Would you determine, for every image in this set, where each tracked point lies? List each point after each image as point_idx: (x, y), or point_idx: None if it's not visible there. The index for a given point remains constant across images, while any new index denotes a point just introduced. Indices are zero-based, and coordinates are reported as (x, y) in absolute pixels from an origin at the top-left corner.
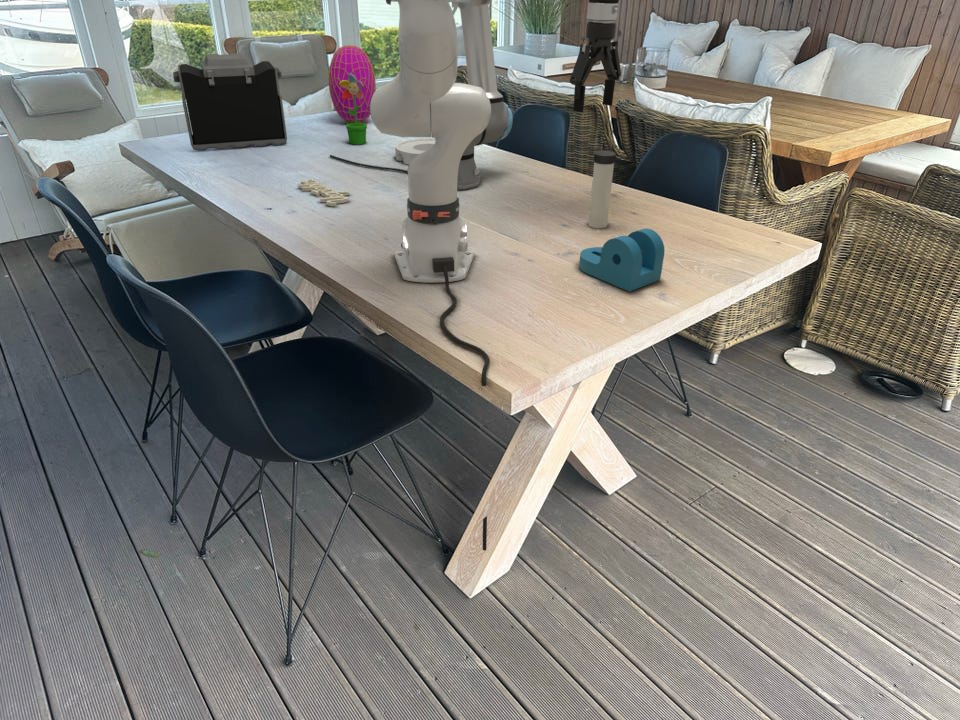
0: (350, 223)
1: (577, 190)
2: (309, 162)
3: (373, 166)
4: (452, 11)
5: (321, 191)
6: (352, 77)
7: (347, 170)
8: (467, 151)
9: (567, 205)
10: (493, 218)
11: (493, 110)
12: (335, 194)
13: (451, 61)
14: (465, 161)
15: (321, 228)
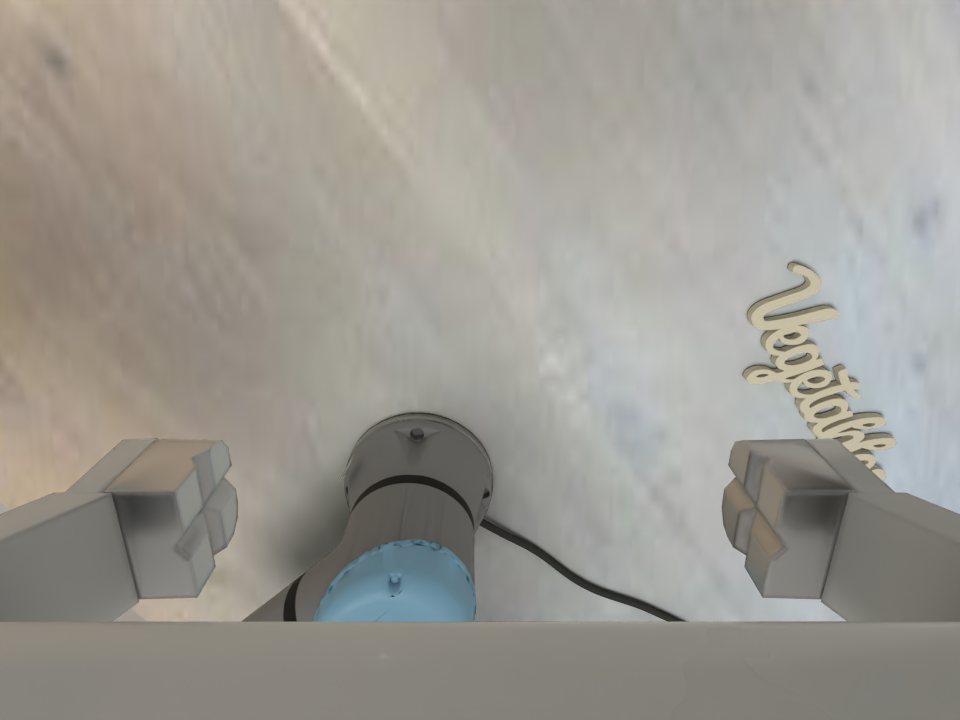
0: (750, 100)
1: (45, 411)
2: None
3: (662, 613)
4: (32, 533)
5: (830, 380)
6: None
7: (736, 596)
8: (365, 502)
9: (64, 268)
10: (292, 141)
11: None
12: (789, 351)
13: None
14: (377, 479)
15: (845, 50)
